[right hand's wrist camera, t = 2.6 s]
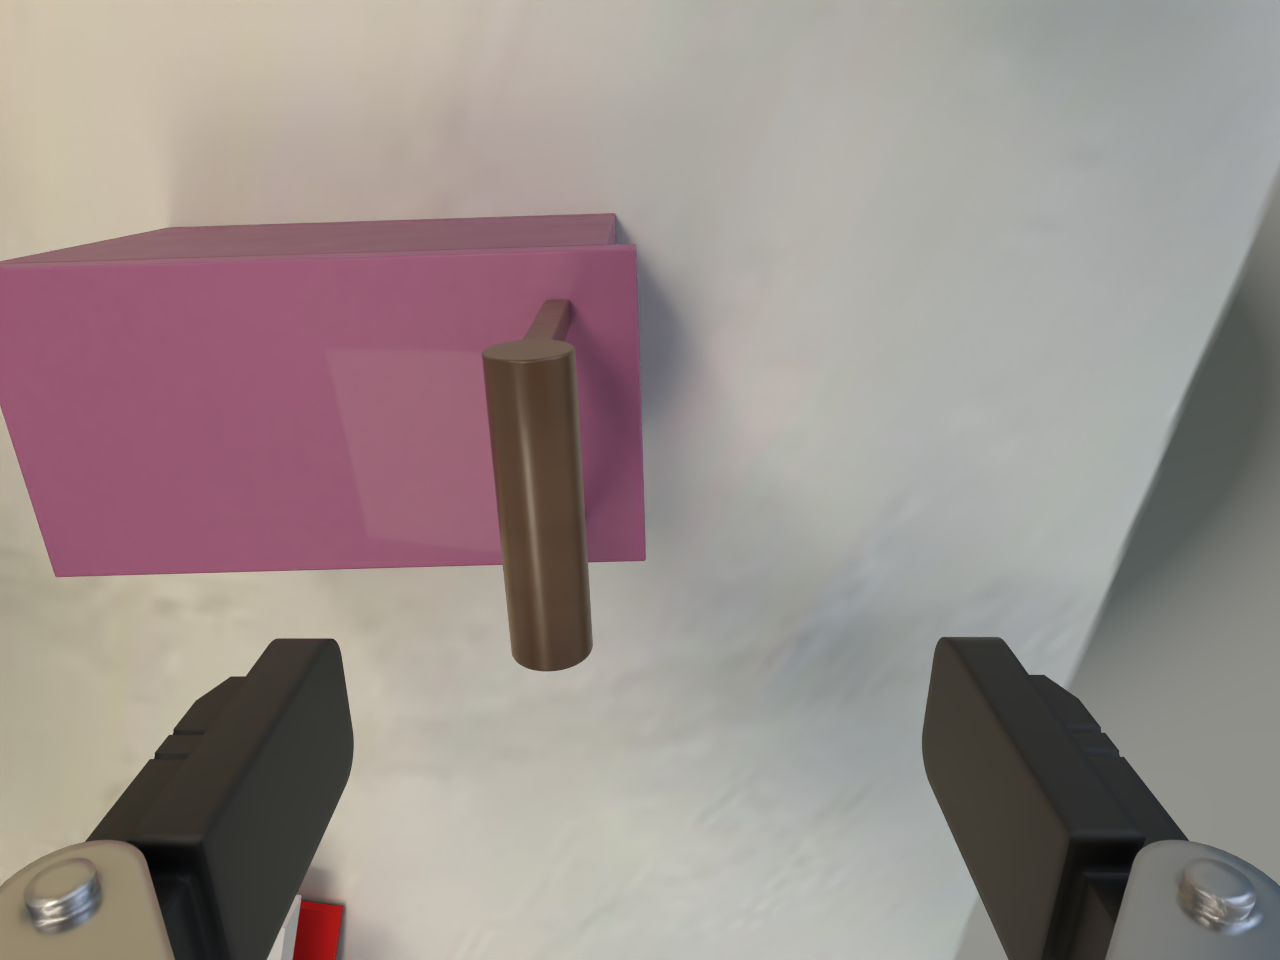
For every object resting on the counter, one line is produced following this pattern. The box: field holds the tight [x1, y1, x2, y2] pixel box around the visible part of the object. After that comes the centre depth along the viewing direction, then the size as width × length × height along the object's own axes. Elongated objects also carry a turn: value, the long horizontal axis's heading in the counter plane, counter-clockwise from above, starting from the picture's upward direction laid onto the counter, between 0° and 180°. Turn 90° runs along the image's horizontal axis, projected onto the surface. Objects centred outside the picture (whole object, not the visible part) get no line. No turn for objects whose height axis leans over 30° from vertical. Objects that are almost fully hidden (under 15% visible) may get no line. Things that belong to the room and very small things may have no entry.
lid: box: [0, 244, 646, 671], centre depth 22 cm, size 18×9×8 cm, turn 92°
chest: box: [0, 213, 617, 264], centre depth 30 cm, size 18×9×10 cm, turn 92°
